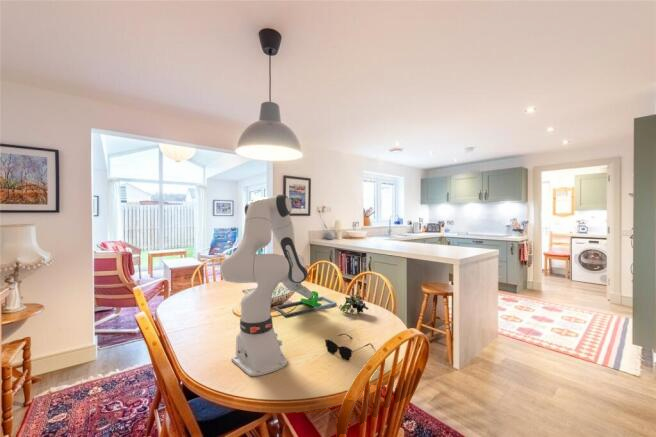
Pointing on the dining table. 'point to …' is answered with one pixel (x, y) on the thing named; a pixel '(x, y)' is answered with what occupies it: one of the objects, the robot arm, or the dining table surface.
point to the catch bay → (325, 304)
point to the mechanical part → (312, 300)
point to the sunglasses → (340, 348)
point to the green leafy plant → (353, 304)
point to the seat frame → (292, 312)
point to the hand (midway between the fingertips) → (308, 297)
